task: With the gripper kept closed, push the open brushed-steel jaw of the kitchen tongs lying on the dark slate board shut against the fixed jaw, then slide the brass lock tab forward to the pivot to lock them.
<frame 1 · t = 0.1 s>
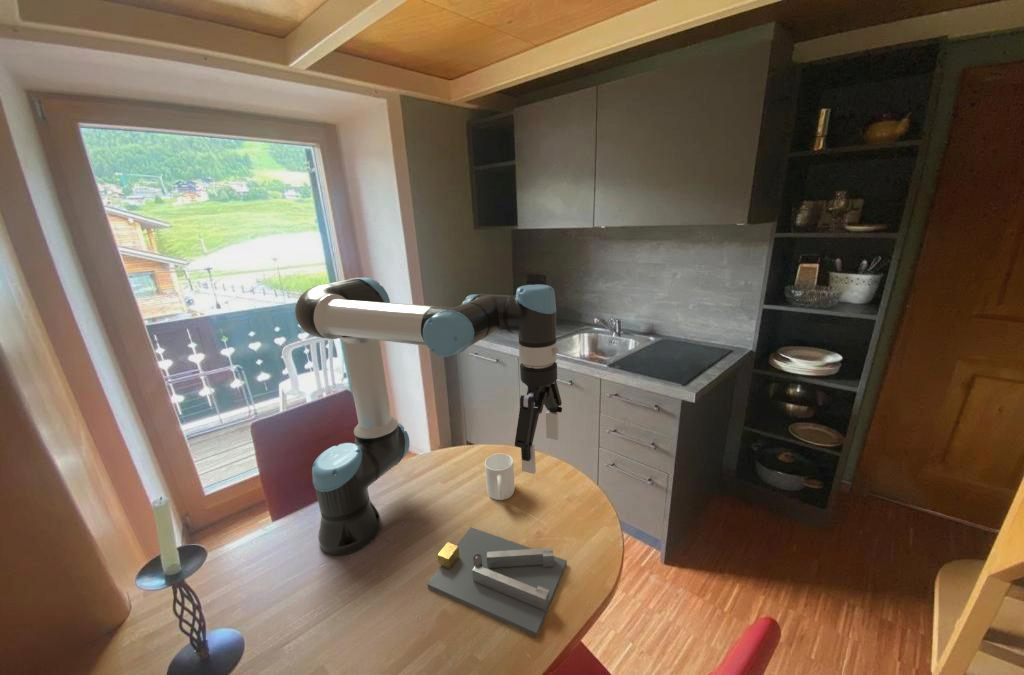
hand: (541, 453, 85), 28 cm above the table, fingers open, 13 cm apart
board: (498, 576, 88), on the table
tongs fixed: (479, 576, 88), resting on board
tongs jaw: (520, 558, 89), point 3 cm above the table, hinge at 28.0°
lock tab: (448, 555, 91), point 3 cm above the table, slide at 0.0 cm
mug: (501, 496, 114), on the table
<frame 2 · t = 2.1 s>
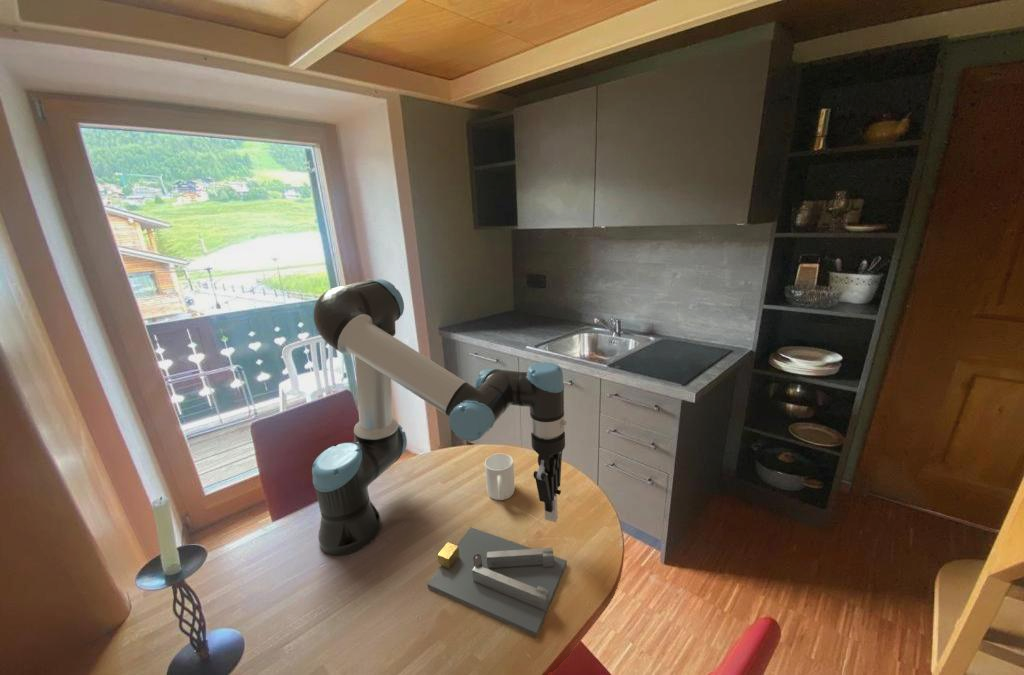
hand: (551, 518, 93), 8 cm above the table, fingers closed
nothing on the table moved.
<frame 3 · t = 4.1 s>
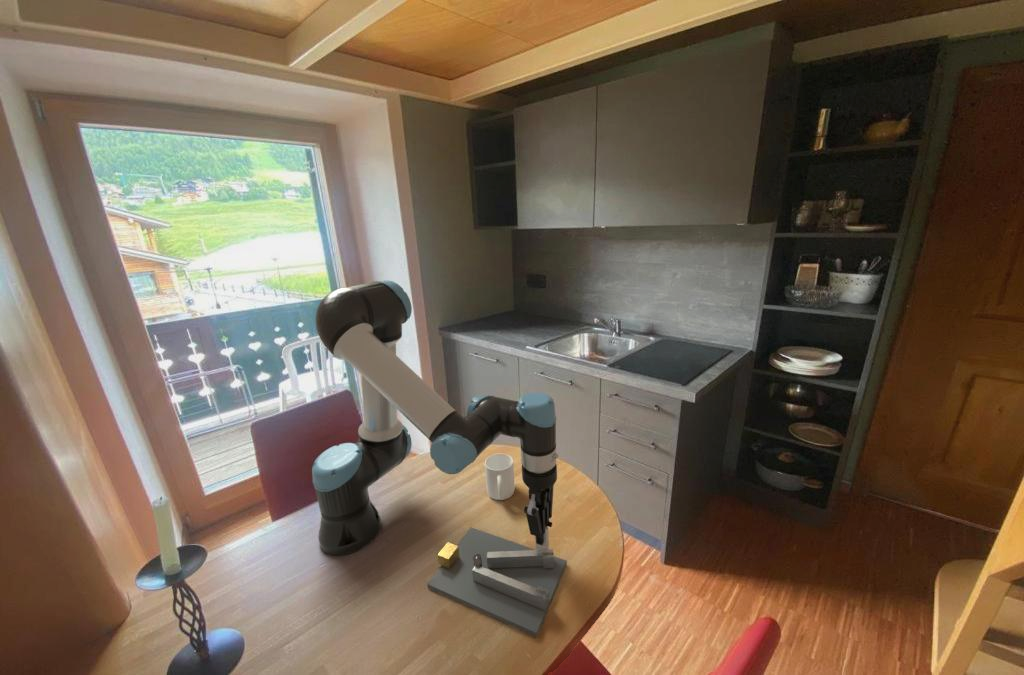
hand: (542, 550, 91), 3 cm above the table, fingers closed
tongs jaw: (520, 559, 88), point 3 cm above the table, hinge at 26.3°, touching gripper
everything else where it was.
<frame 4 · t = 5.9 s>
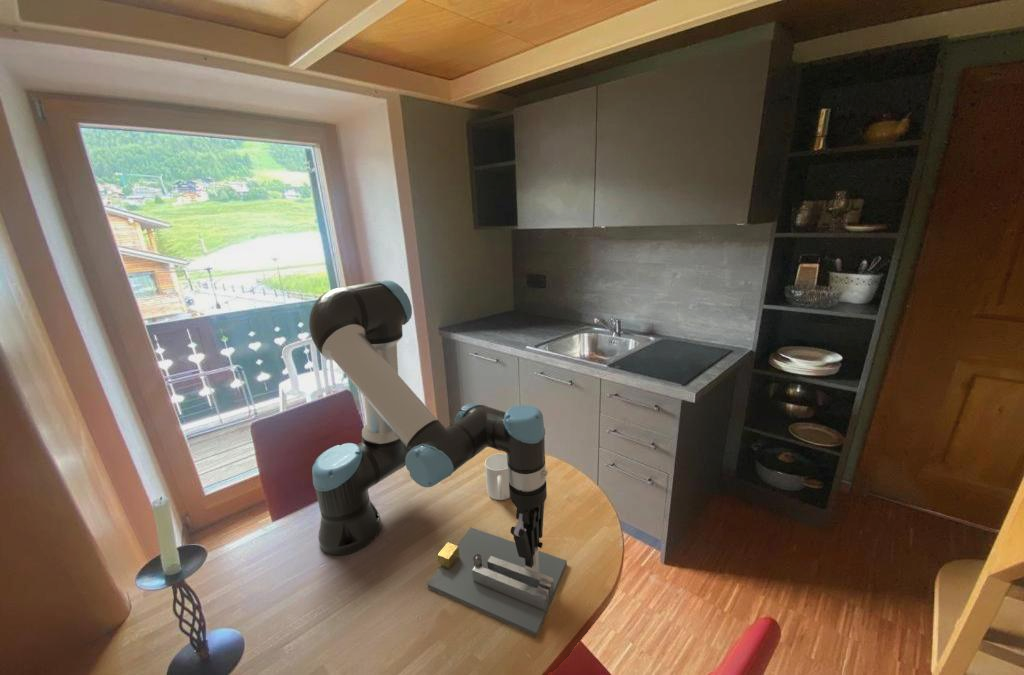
hand: (532, 572, 85), 3 cm above the table, fingers closed
tongs jaw: (519, 576, 84), point 3 cm above the table, hinge at 1.0°, touching gripper
everything else where it was.
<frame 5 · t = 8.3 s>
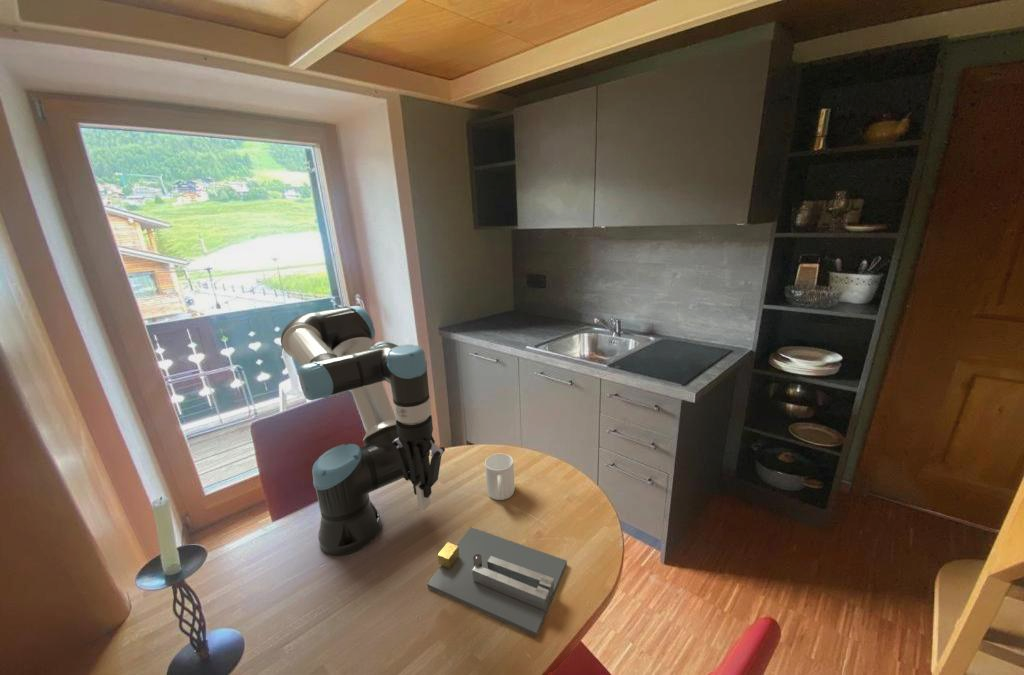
hand: (424, 506, 91), 14 cm above the table, fingers closed
tongs jaw: (519, 576, 84), point 3 cm above the table, hinge at 1.0°
everything else where it was.
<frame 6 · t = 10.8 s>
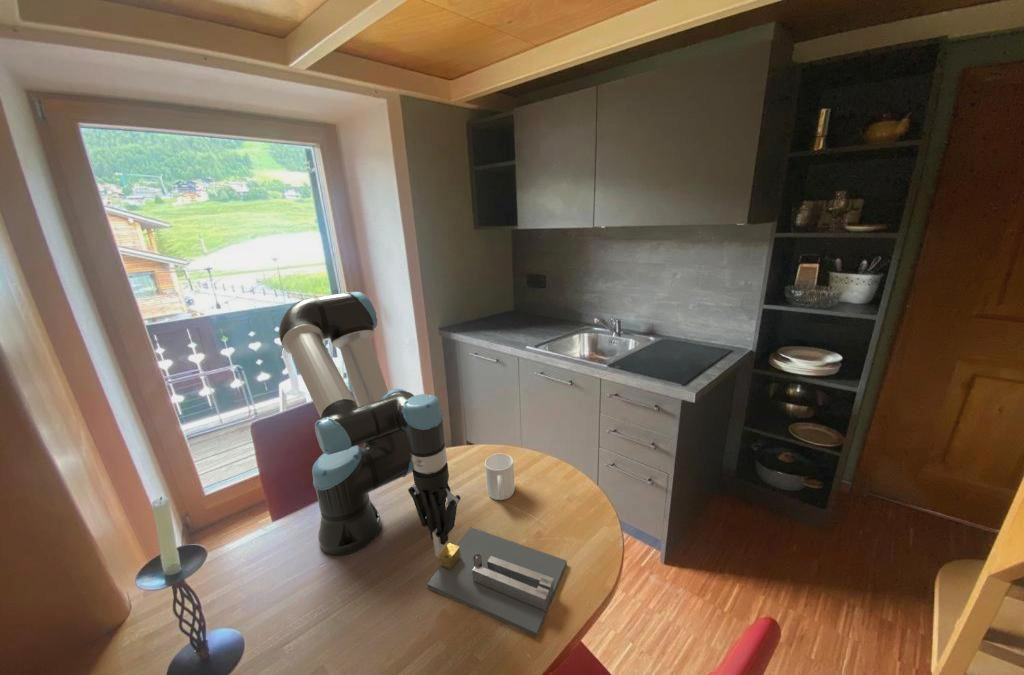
hand: (441, 552, 91), 3 cm above the table, fingers closed
lock tab: (450, 555, 90), point 3 cm above the table, slide at 0.4 cm, touching gripper
everything else where it was.
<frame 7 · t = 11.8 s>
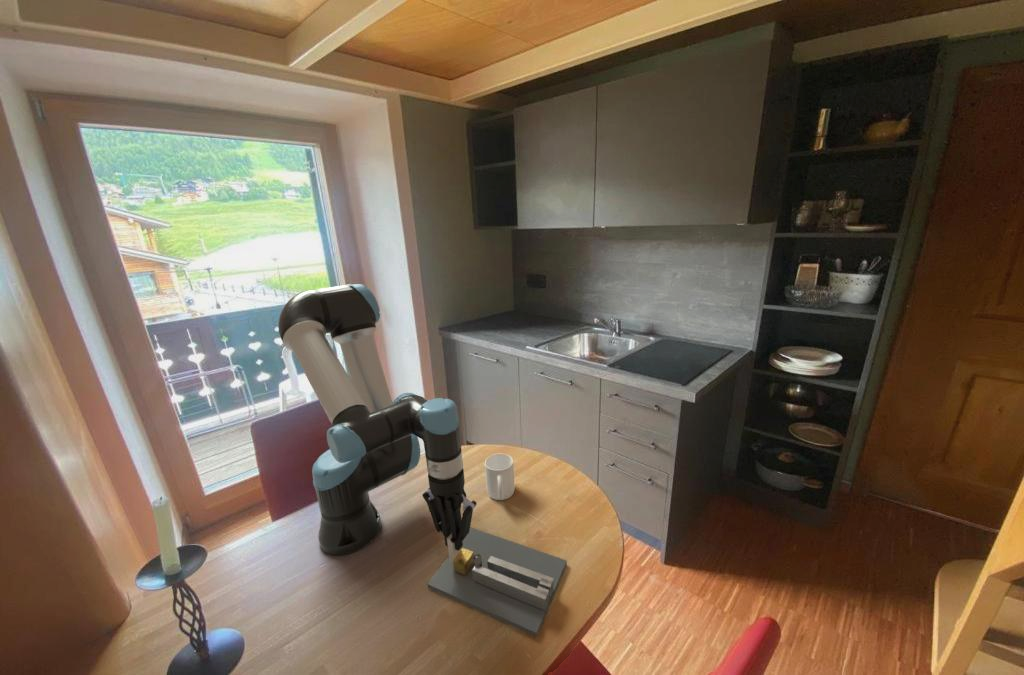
hand: (455, 557, 90), 3 cm above the table, fingers closed
lock tab: (463, 561, 89), point 3 cm above the table, slide at 4.2 cm, touching gripper
everything else where it was.
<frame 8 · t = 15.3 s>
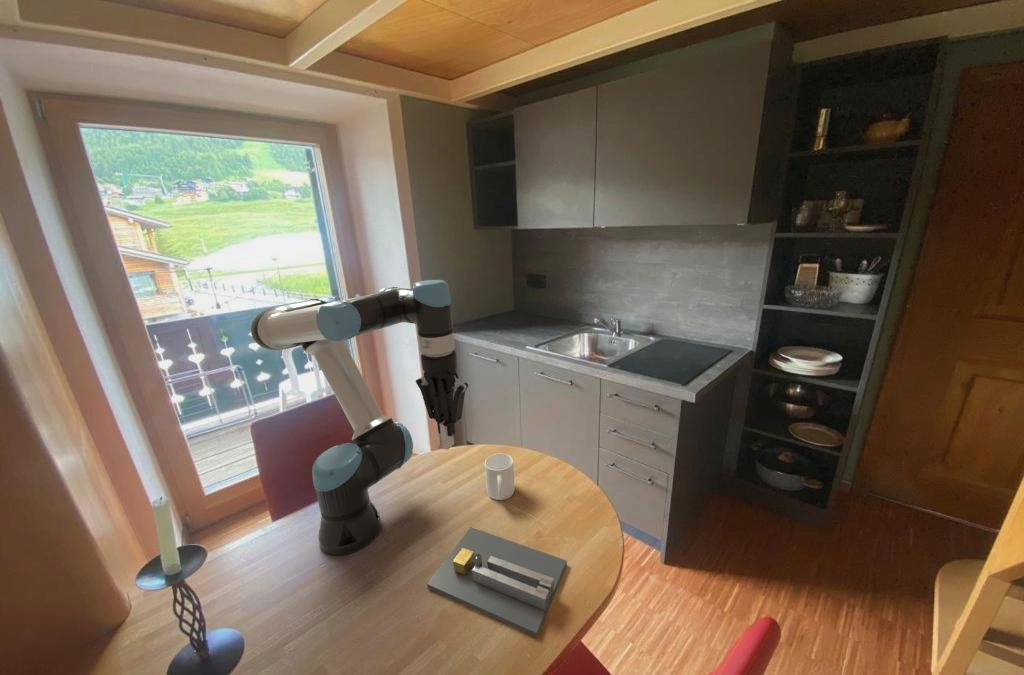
hand: (448, 446, 92), 26 cm above the table, fingers closed
lock tab: (463, 561, 89), point 3 cm above the table, slide at 4.2 cm
everything else where it was.
at the end: tongs jaw at +1° (first picture: +28°); lock tab slide at 4.2 cm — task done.
